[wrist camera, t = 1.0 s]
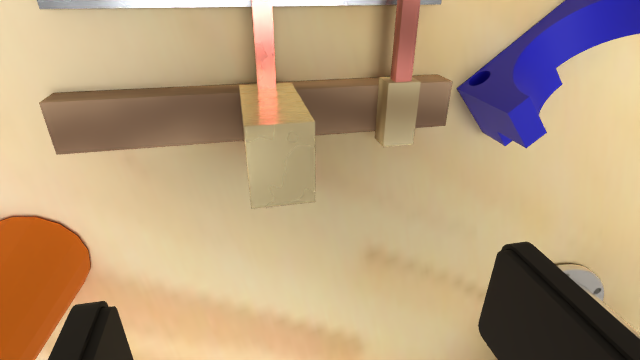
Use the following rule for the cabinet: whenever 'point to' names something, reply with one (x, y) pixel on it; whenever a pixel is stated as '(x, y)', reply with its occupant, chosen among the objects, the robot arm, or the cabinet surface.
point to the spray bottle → (36, 282)
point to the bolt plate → (203, 3)
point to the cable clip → (541, 66)
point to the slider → (275, 127)
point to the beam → (226, 115)
